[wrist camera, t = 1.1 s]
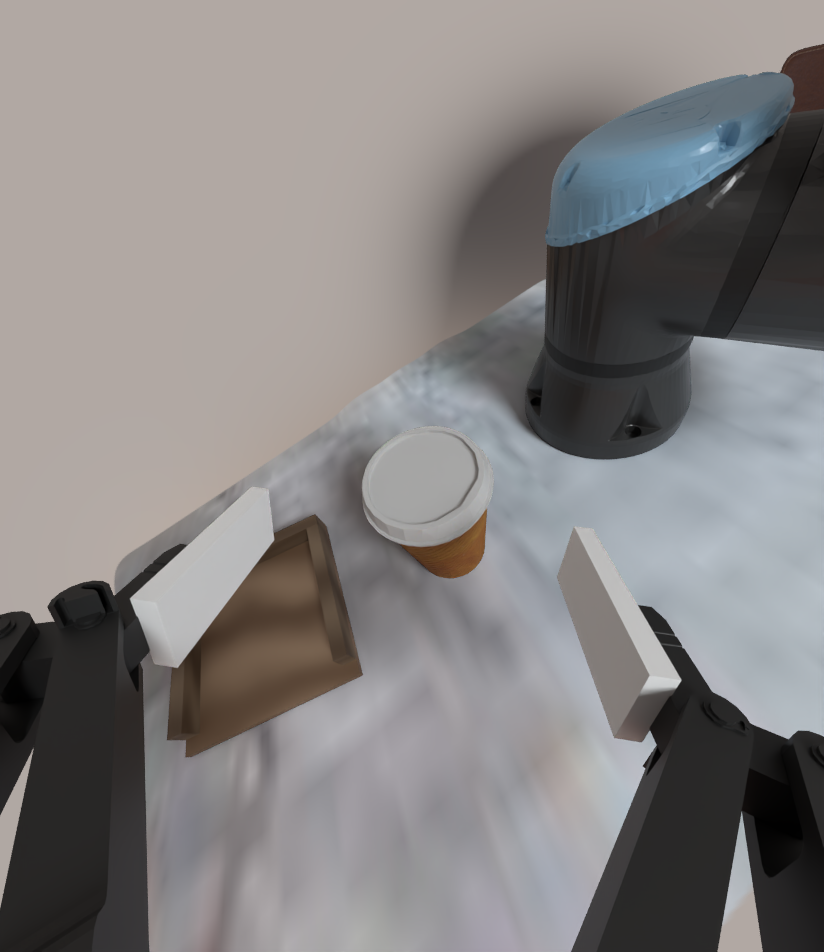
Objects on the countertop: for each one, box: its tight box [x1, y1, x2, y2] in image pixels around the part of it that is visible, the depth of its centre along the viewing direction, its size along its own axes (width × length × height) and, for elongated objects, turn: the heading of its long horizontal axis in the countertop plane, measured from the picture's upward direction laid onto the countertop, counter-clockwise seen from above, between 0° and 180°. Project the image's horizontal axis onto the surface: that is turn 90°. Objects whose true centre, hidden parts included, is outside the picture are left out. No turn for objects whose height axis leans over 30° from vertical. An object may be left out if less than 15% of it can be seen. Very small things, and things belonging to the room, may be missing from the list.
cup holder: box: [167, 515, 363, 757], centre depth 33 cm, size 15×15×3 cm
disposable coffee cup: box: [362, 426, 494, 578], centre depth 29 cm, size 10×10×12 cm
